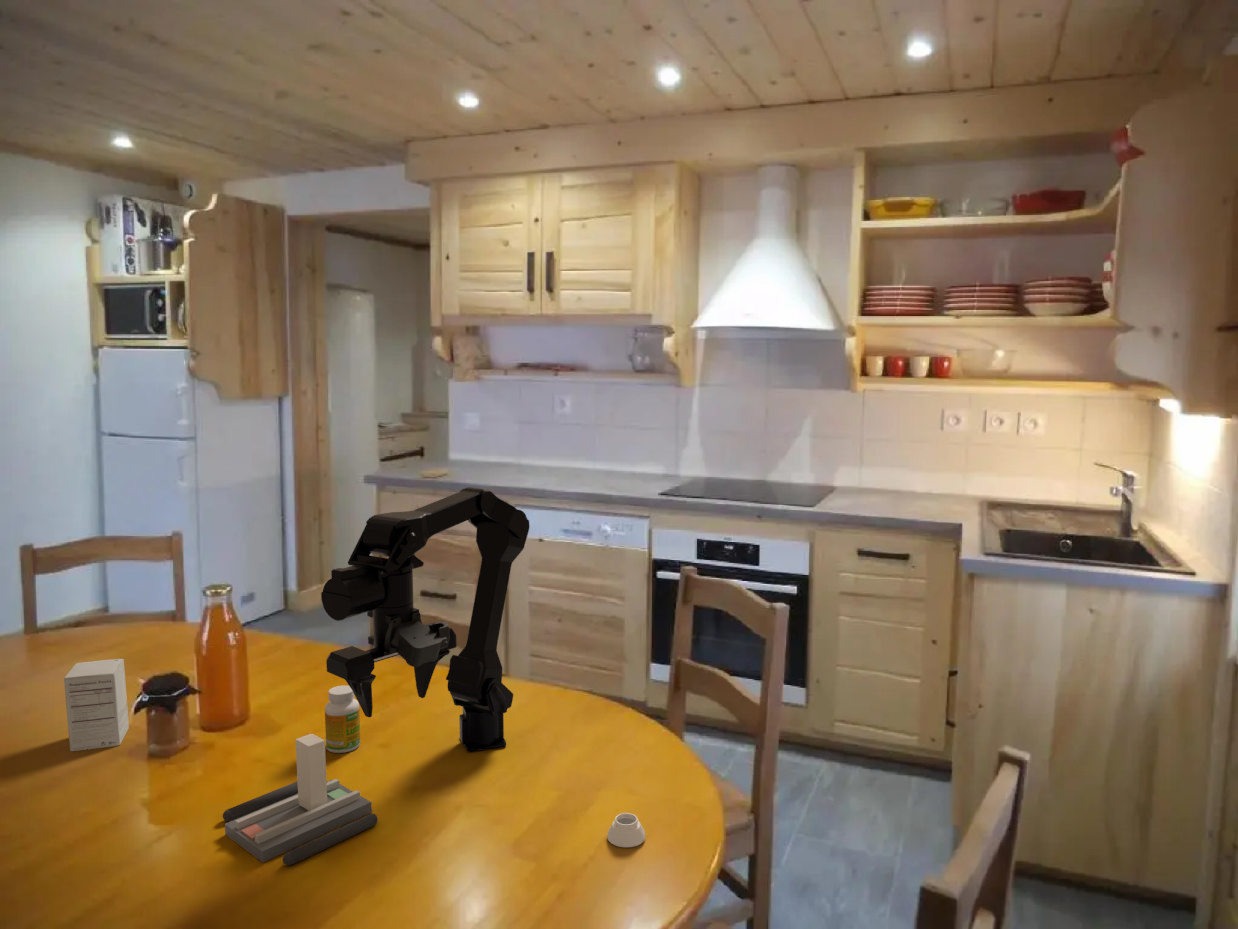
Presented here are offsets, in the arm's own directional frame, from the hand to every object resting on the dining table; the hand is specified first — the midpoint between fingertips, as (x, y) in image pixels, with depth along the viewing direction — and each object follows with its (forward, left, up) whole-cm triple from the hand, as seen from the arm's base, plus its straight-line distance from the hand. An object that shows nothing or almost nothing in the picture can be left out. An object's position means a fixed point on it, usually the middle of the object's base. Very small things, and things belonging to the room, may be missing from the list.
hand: (395, 706), depth 125 cm
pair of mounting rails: (+14, +4, -13) cm, 19 cm away
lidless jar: (-27, +23, -13) cm, 38 cm away
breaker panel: (+14, +4, -13) cm, 19 cm away
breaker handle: (+12, +3, -11) cm, 17 cm away
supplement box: (+45, -34, -13) cm, 58 cm away
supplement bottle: (+7, -18, -13) cm, 23 cm away
